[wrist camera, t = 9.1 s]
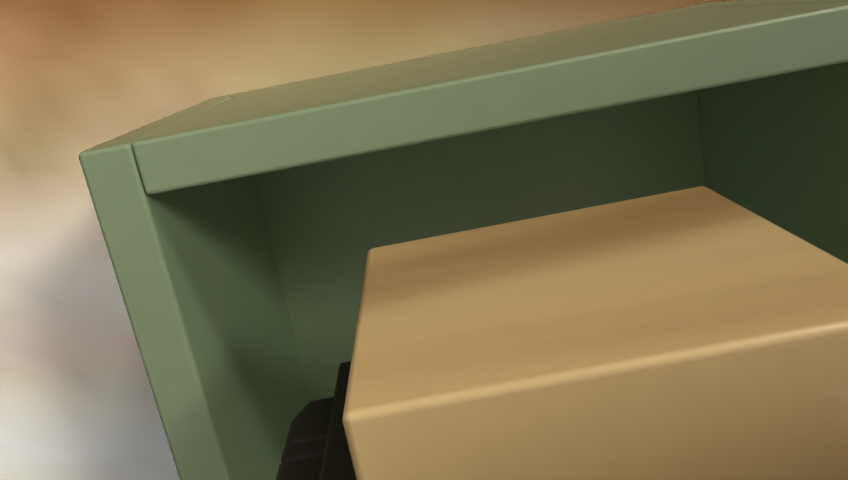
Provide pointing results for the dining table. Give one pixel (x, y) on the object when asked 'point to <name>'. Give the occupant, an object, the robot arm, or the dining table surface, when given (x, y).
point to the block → (603, 350)
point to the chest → (440, 188)
